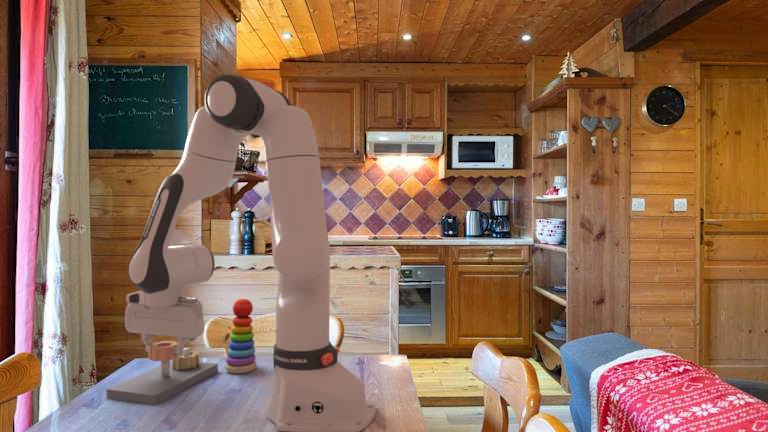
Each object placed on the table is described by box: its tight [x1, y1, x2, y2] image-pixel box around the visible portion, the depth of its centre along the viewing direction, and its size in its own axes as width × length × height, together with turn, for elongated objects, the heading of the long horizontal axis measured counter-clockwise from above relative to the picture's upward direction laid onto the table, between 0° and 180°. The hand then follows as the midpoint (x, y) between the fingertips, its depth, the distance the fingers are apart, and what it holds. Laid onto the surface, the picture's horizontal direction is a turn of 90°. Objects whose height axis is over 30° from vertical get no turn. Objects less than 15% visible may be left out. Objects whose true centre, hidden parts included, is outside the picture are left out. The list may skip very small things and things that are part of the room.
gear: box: [171, 349, 201, 370], centre depth 119 cm, size 7×7×4 cm
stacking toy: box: [224, 298, 258, 375], centre depth 122 cm, size 8×8×19 cm
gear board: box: [106, 347, 219, 406], centre depth 112 cm, size 13×22×6 cm, turn 164°
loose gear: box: [148, 340, 179, 362], centre depth 111 cm, size 7×7×3 cm
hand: (164, 353), depth 111 cm, fingers closed on loose gear, 7 cm apart
